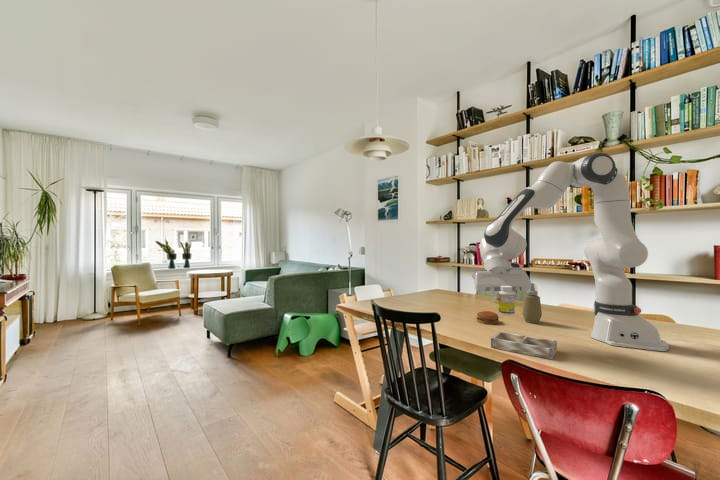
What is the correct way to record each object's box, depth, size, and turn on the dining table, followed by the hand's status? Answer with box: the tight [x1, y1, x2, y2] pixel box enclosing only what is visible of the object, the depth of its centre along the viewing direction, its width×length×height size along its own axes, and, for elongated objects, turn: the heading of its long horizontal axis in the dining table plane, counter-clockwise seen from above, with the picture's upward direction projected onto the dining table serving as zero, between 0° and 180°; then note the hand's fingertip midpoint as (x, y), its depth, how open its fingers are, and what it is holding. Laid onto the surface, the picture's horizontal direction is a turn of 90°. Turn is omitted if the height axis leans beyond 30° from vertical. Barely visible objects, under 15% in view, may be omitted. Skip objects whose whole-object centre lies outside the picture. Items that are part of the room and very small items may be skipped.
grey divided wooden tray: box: [490, 331, 558, 360], centre depth 115 cm, size 19×10×3 cm, turn 51°
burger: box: [476, 310, 500, 325], centre depth 152 cm, size 10×9×5 cm
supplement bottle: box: [497, 286, 516, 316], centre depth 120 cm, size 6×6×10 cm
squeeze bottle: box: [522, 282, 543, 324], centre depth 151 cm, size 8×8×18 cm
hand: (507, 299), depth 119 cm, fingers closed on supplement bottle, 5 cm apart
